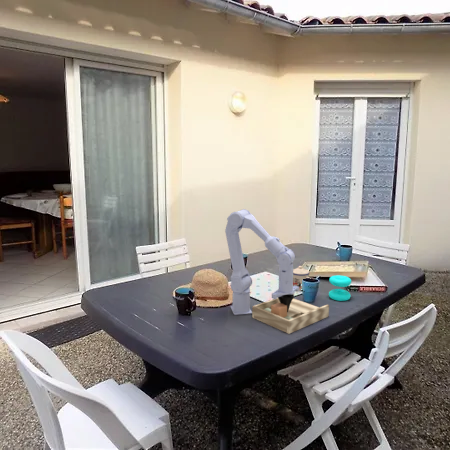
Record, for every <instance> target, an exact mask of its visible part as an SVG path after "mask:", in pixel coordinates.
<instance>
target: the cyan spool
mask: <svg viewBox="0 0 450 450" xmlns="http://www.w3.org/2000/svg"><path fill="white" fill-rule="evenodd" d="M328 281H329V283H330V284H331V285H333V286H335V287H337V288H332V289H331V290H330V291H328V297H329V298H330V299H331V300H335V301H338V302H339V301H340V302H344V301H348V300H350V299H351V293H350V292H349V291H348V290H346V289H342V288H346V287H349V286H350V285H351V284H352V279H351V278H350V277H348V276H346V275H340V274H338V275H337V274H336V275H331V276H330V277H329V280H328Z"/></svg>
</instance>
